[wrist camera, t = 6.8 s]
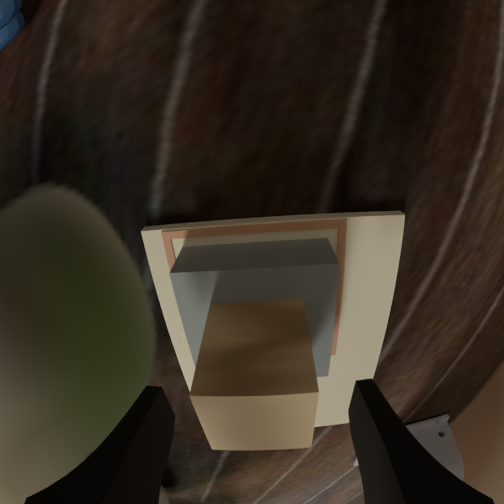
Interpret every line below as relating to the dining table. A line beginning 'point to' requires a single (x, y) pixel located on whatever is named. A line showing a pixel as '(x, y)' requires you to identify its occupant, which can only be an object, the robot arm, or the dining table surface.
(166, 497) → the donut
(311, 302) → the slate slab
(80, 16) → the dining table surface
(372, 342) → the white flat sheet
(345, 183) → the dining table surface
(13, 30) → the blue lumpy rounded block
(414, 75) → the dining table surface
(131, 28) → the dining table surface
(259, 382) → the maple block
